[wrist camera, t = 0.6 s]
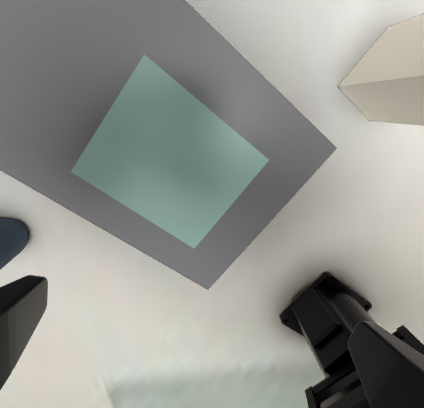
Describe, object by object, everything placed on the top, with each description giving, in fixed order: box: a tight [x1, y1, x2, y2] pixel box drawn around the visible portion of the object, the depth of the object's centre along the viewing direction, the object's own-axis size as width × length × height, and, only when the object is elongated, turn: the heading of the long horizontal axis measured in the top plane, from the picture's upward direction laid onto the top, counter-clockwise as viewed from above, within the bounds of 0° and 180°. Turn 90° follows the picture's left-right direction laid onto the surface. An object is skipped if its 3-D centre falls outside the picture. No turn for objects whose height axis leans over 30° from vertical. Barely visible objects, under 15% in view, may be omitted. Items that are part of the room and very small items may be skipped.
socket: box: [0, 0, 337, 289], centre depth 15 cm, size 18×12×4 cm, turn 51°
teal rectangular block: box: [71, 54, 269, 249], centre depth 13 cm, size 7×6×2 cm
